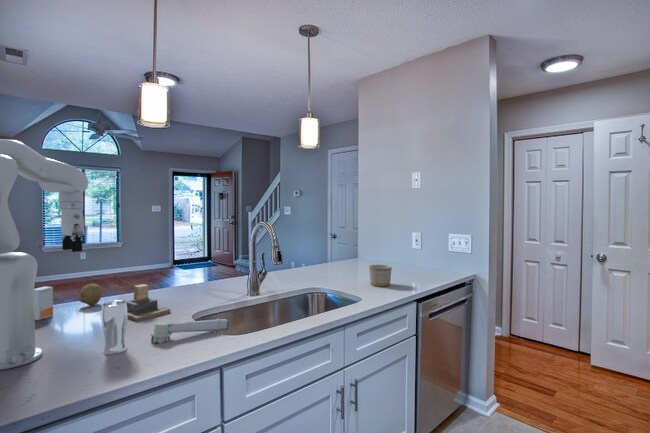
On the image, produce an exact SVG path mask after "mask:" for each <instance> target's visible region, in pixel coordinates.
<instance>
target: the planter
mask: <svg viewBox="0 0 650 433" xmlns="http://www.w3.org/2000/svg"><path fill="white" fill-rule="evenodd" d="M392 268H393V267H392V266H391V265H388V264H371V265H369V266H368V269H369V270H368V271H369V272H368V273H369V280H370V281H369V283H370V285H371V286H373V287H377V288H386V287H389V286H390V285H391V276H392V270H393V269H392Z"/></svg>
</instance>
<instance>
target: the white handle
mask: <svg viewBox="0 0 650 433" xmlns="http://www.w3.org/2000/svg"><path fill="white" fill-rule="evenodd" d="M229 326H230V323H229V319H228V318H218V317H217V318H215V319H207V320H197V321H184V322H174V323H173V322H172V323H169V322H165V321H164V322H163V321H161V322H157V323H155V325H154V329H153V331H151V332H150V337H151V339H150V342H151V343H154V344H155V343H158V344H163V343H164V342H169V340H170V338H171V336H172V334H174V333H194V332H195V333H196V332H219V331H228V329H229Z"/></svg>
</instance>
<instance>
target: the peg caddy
mask: <svg viewBox="0 0 650 433" xmlns="http://www.w3.org/2000/svg"><path fill="white" fill-rule="evenodd" d="M125 301H126V302H127V312H128V319H127V320H130V321H133V322H136V323H137V322H141V321H145V320H149V319H152V318H155V317H160V316H162V315H167V314H170V313H171V308H168V307H165V306H163V305H162V306H161V305H159V304H158V299H156V298H151V297H149V296H148V301H147V302H143V303H138V304H137V303H134V299H130V300H125Z"/></svg>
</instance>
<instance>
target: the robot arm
mask: <svg viewBox="0 0 650 433" xmlns="http://www.w3.org/2000/svg"><path fill="white" fill-rule="evenodd" d="M18 175H19V176H20V177H22V178H25V179H26V180H29V181H33V182H38V184H39V185H38V186H39V187H40V188H41V189H42V190H43V191H46V192H48V193H58V210H59V211H61V215H60V216H61V217H60V220H61V221H60V230H61V236H62V237H61V239H62V240H61V243H62V244H61V245H62V247H61V248H62V251H68V250H71V252H72V253H76V252H82V251H83V236H84V235H85V221H84V214H83V211H84V192H85V191H86V190H87V189H88V187H89V180H88V177H87V176H86V174H85V173H84V172H83V171H82V170H80V168H78V167H76V166H74V165H72V164H68V163H66V162H61V161H58V160H55V159H53V158H52V159H51V158H48V157H46V156H43V155H42V154H40V153H39V152H37V151H36V150H34V149H33V148H31V147H30V146H29V145H26V143H25V144H24V142H21V141H19V140H16V139H8V138H7V139H6V138H5V139H4V138H0V371H1V370H7V369H8V370H9V369H12V368H17V367H20V366H24V365H27V364H29V363H32V362H34V361H36V360H38V359H39V358H40V357H41V356H43V349H41V348H40V347H36V322H35V321H36V320H35V314H34V289H35V283H36V278H37V273H38V262H37V259H36V258H35V256H33V255H32V254H29V253H26V252H18V251H17V252H16V251H15V250H16V249H18V247H19V245H20V242H21V240H20V235H19V231H18V229H17V226H16V223H15V222H14V218H13V216H12V213H11V211H10V208H9V202H8V199H9V197H10V196H9V195H10V193H11V191H12V188H13V186H14V184H15V182H16V180H17V177H18Z"/></svg>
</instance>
